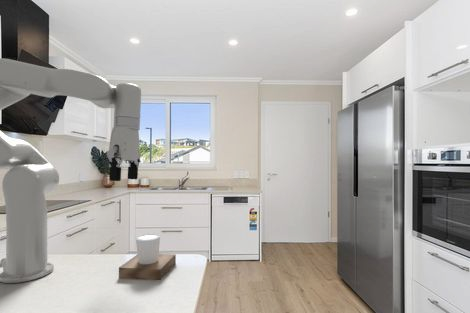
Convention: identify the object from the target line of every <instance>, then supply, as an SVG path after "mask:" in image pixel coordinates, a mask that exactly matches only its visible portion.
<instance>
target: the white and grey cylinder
mask: <svg viewBox="0 0 470 313" xmlns="http://www.w3.org/2000/svg"><path fill="white" fill-rule="evenodd" d="M135 242H136V243H135V244H136V252H137V253H136V255H138V263H139V264H152V263H155V262H157V261H158V256H159V254H160V244H161V243H160V242H161V235H160V234H157V233H156V234H155V233H152V234H149V233H148V234H141V235H139V236H136V238H135Z"/></svg>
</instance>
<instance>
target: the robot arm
mask: <svg viewBox="0 0 470 313" xmlns="http://www.w3.org/2000/svg"><path fill="white" fill-rule="evenodd" d="M31 95H35V96H39V97H45V98H54V97H56V96H66V97H71V98H76V99H81V100H85V101H89V102H91V103H92V104H94V105H95V106H97V107H98V108H100V109H101V108H102V109H114V110H113V111H114V112H113V114H114V115H113V126H112V129H111V133H110V138H109V145H108V146H109V147H108V150H107V151H106V156H107V161H108V166H109V181H110V182H121V180H122V179H121V178H122V167H121V165H122V163H123V162H128V165H129V166H128V167H127V179H128V180H138V176H139V175H138V174H139V173H138V172H139V167H140V162H141V157H142V153H140V132H139V131H140V126H141V125H140V124H141V105H142V103H141V102H142V89H141V87H140V86H138V85H137V84H133V83H130V82H129V83H127V82H121V83H117V85H116V86H114V85H112V84H110V83H109V81H108V80H106V79H105V78H103V77H101V76H99V75H96V74H92V73H88V72H84V71H81V70H80V71H79V70H76V69H68V68H51V67H46V66H40V65H37V64H32V63H28V62H23V61H20V60H19V61H18V60H15V59H11V58H0V111H2V110H4V109H5V108H8V107H9V106H11V105H14V104H16V103H18V102H20V101H22V100H23V99H26V98H27V97H28V96H31ZM0 170H8V171H6V173H5V174H4V176H3V178H2V183H1V184H2V186H1V188H2V192H3V197H4V202H5V223H6V224H5V226H6V227H5V228H6V230H5V233H6V234H5V235H6V236H5V238H6V239H5V241H6V242H5V244H6V245H5V254H6V255H5V257H3V258H1V259H0V268H2V272H1V273H0V283H4V284H17V283H18V284H20V283H23V282H29V281H34V280H37V279H40V278H43V277H44V276H47V275H49V274H51V273H52V272H53V271H54V267H55V266H54V264H53V263H52V262H48V206H47V201H46V197H45V194H47V193H50V192H52V191H54V190H55V189H56V188H57V187H58V185H59V184H60V183H59V182H60V175H59V172H58V170H57V169H56V167H54V165H52V163H51V162H49V161H48V159H47V158H46V157H44V156H43V154H42V153H40V152H39V150H38V149H36V148H35V147H34V145H32V144H31V143H29V142H27V141H25V139H24V140H23V139H20V138H15V137H10V136H8V135H6V134H5V133H4V132H2V130H0Z"/></svg>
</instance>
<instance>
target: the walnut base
mask: <svg viewBox="0 0 470 313" xmlns="http://www.w3.org/2000/svg"><path fill="white" fill-rule="evenodd" d="M176 256H177V255H176V254H175V253H172V254H171V253H159V256H158V261H157V262H155V263H152V264H139V263H138V255H137V254H136V255H135V256H133V257H132V258H130V259H129V260H127V261H126V262H124V263H123V264H122V265H120V266H119V267H118V279H121V280H137V281H138V280H140V281H141V280H142V281H162V280H163V279H164V277H165V276H166V275H168V273H169V272H170V271H171V270H172V269H173V267H175V265H176V264H177V263H176V262H177V261H176ZM171 268H172V269H171ZM170 269H171V270H170ZM169 270H170V271H169Z"/></svg>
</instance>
